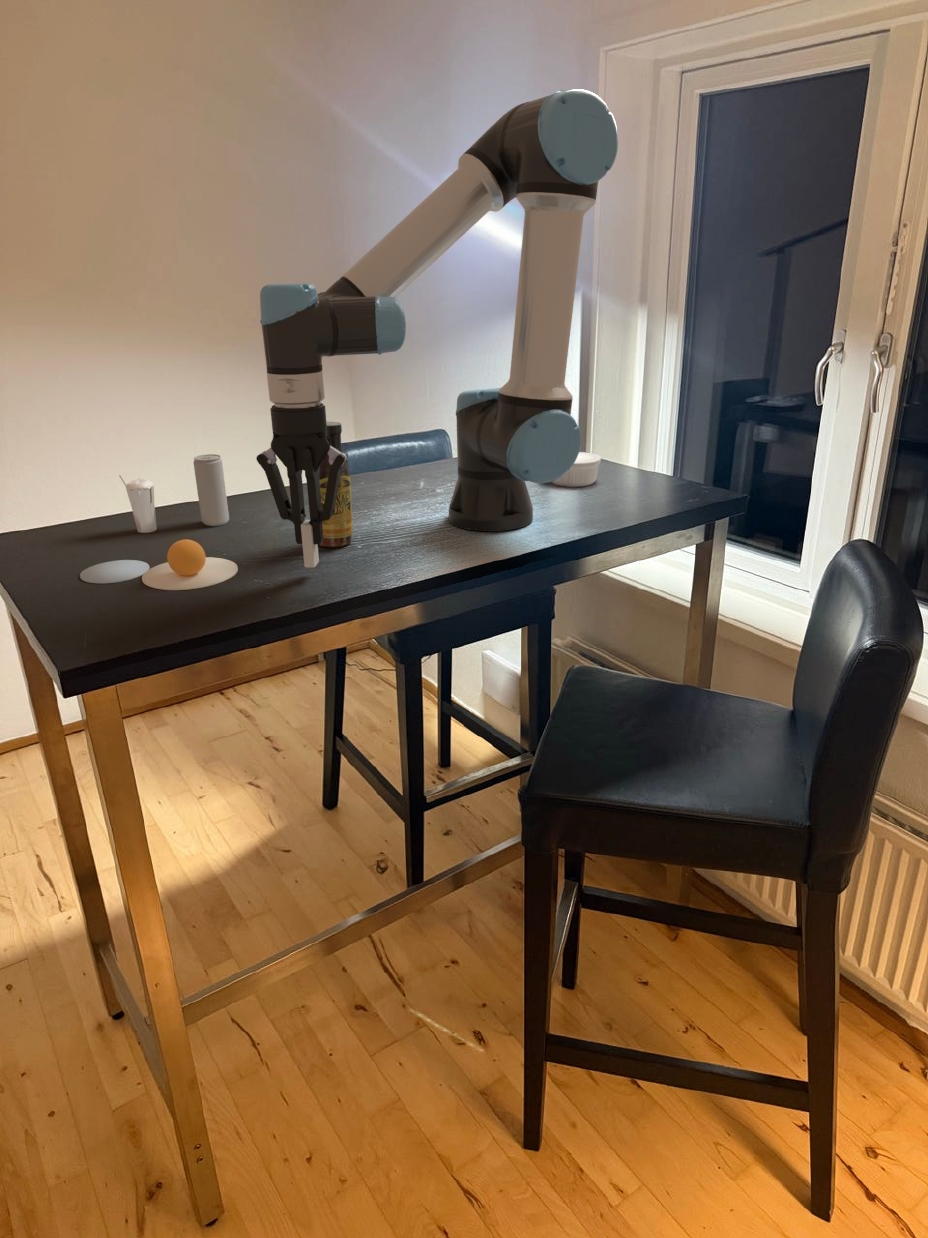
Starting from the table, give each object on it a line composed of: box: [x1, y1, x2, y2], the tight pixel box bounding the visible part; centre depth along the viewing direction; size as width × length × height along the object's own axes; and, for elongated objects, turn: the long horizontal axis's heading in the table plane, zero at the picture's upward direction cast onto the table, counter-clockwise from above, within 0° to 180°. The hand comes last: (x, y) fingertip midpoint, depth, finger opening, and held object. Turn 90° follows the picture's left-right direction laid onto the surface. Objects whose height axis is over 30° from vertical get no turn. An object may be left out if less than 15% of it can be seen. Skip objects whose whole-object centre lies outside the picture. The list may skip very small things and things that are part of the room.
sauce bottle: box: [318, 421, 354, 548], centre depth 139 cm, size 7×6×20 cm
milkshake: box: [119, 475, 157, 534], centre depth 149 cm, size 4×5×10 cm
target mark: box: [141, 556, 239, 591], centre depth 130 cm, size 14×14×1 cm
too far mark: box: [79, 559, 151, 585], centre depth 131 cm, size 10×10×1 cm
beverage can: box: [193, 453, 230, 527], centre depth 152 cm, size 5×5×12 cm
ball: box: [166, 538, 207, 576], centre depth 128 cm, size 6×6×6 cm
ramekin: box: [551, 451, 602, 488], centre depth 178 cm, size 11×11×5 cm
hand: (311, 564), depth 127 cm, fingers closed
